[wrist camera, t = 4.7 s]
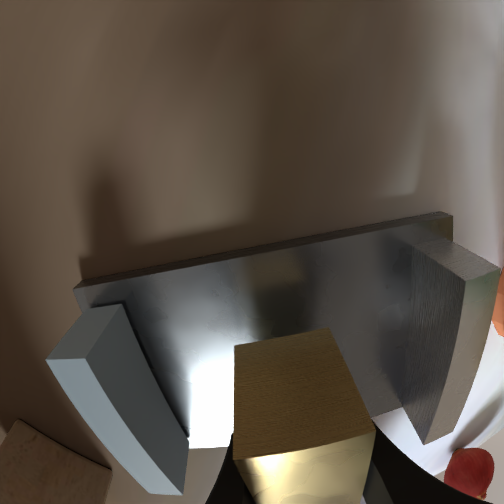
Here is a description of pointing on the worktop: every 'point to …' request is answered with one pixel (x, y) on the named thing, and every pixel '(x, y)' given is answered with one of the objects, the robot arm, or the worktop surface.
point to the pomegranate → (470, 471)
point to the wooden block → (47, 471)
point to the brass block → (299, 422)
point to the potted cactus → (499, 307)
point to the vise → (316, 318)
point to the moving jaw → (121, 398)
